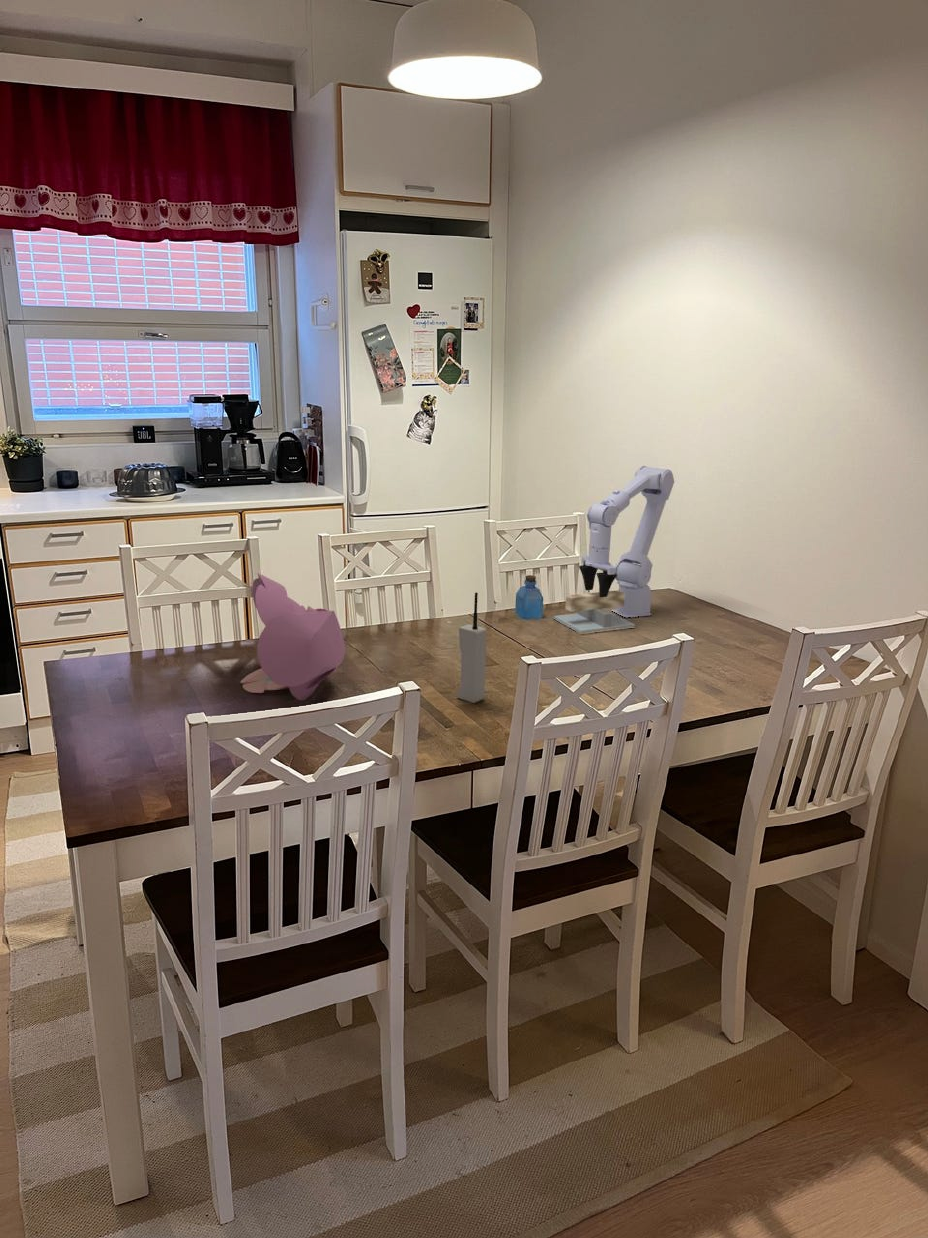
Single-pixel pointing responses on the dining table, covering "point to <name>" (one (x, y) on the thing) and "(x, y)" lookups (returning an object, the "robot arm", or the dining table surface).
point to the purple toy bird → (293, 643)
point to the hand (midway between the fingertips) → (596, 593)
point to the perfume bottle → (529, 600)
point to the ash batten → (594, 601)
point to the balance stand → (593, 621)
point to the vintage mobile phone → (472, 660)
